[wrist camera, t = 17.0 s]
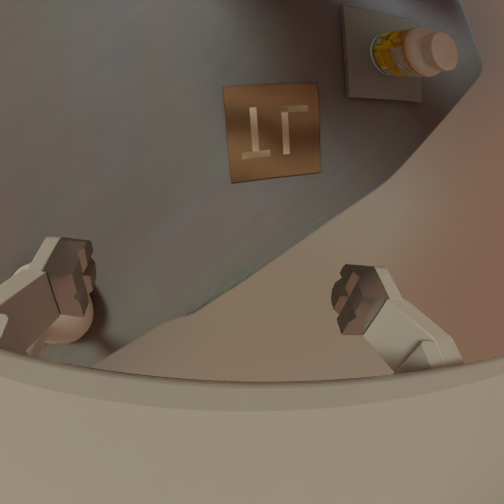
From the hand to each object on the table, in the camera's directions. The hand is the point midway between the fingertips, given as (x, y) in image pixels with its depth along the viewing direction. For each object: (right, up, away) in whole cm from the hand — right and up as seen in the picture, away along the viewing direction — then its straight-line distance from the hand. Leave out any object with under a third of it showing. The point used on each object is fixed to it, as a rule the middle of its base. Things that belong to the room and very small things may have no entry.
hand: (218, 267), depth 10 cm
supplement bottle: (+16, +23, +20) cm, 35 cm away
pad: (+16, +23, +20) cm, 35 cm away
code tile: (+3, +13, +22) cm, 26 cm away
